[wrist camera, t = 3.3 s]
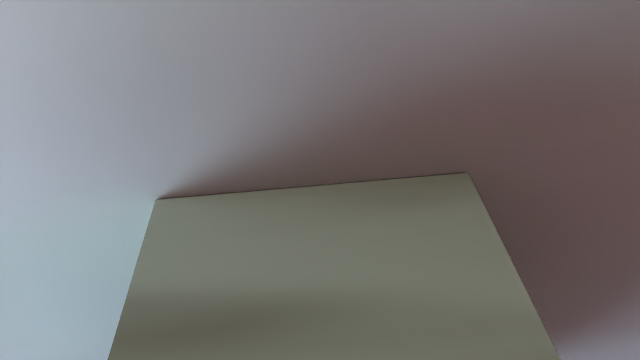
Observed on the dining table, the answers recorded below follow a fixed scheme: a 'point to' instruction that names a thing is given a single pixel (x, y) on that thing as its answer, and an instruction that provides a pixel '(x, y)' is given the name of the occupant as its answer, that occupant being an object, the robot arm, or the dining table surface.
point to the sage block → (329, 278)
